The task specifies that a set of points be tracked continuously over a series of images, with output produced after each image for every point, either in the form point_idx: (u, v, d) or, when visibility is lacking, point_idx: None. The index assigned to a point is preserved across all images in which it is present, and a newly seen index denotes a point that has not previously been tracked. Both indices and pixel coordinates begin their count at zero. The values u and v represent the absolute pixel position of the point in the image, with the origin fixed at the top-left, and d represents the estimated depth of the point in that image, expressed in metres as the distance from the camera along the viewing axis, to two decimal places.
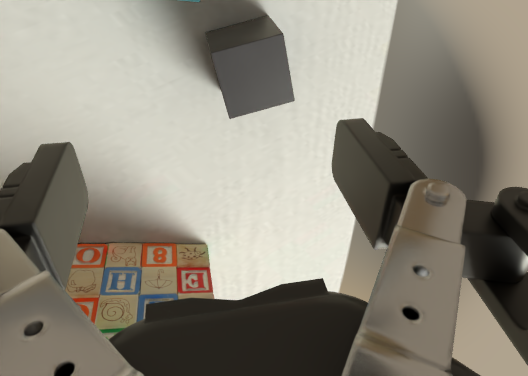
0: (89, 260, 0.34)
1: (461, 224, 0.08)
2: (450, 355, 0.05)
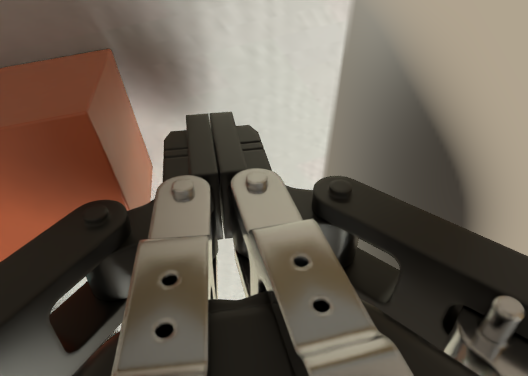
0: None
1: (261, 210, 0.08)
2: (371, 321, 0.06)
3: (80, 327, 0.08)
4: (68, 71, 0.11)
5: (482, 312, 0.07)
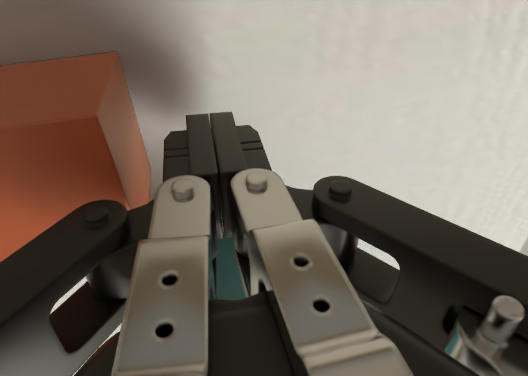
0: None
1: (261, 210, 0.08)
2: (370, 321, 0.06)
3: (80, 327, 0.08)
4: (75, 73, 0.11)
5: (482, 312, 0.07)
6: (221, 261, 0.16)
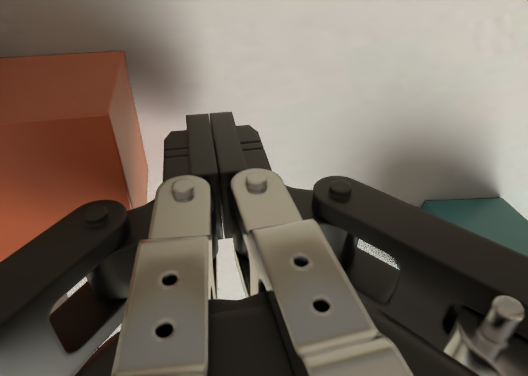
0: None
1: (261, 210, 0.08)
2: (370, 321, 0.06)
3: (81, 327, 0.08)
4: (83, 70, 0.11)
5: (482, 312, 0.07)
6: (461, 222, 0.18)
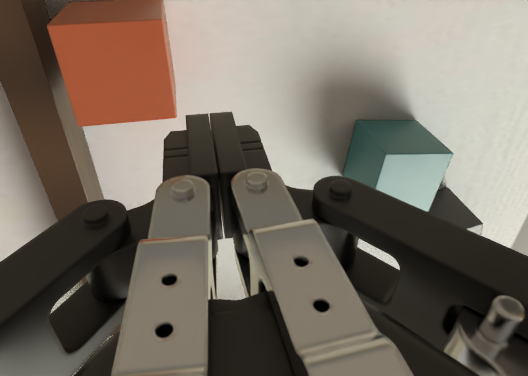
0: None
1: (261, 210, 0.08)
2: (371, 321, 0.06)
3: (80, 327, 0.08)
4: (141, 5, 0.19)
5: (482, 312, 0.07)
6: (379, 131, 0.25)
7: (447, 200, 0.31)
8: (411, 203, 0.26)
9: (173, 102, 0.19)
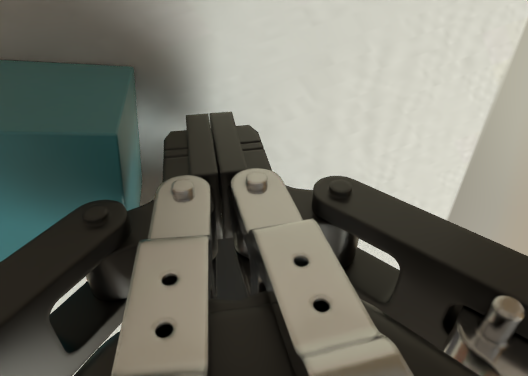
0: None
1: (261, 210, 0.08)
2: (371, 321, 0.06)
3: (81, 327, 0.08)
4: None
5: (482, 312, 0.07)
6: None
7: None
8: None
9: None
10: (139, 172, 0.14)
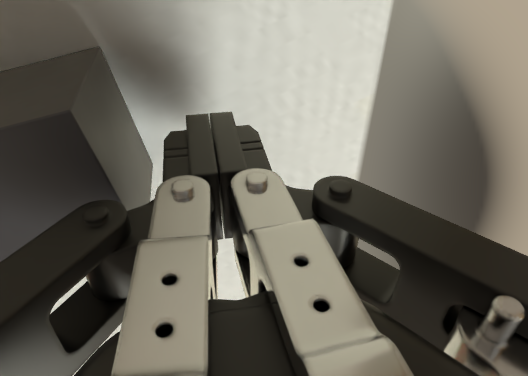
0: None
1: (261, 210, 0.08)
2: (371, 321, 0.06)
3: (81, 327, 0.08)
4: None
5: (482, 312, 0.07)
6: None
7: (62, 68, 0.11)
8: None
9: None
10: None
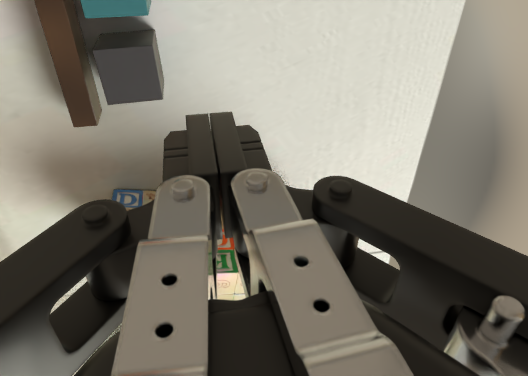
0: None
1: (261, 210, 0.08)
2: (371, 321, 0.06)
3: (80, 327, 0.08)
4: None
5: (482, 312, 0.07)
6: None
7: (143, 34, 0.33)
8: (124, 4, 0.29)
9: None
10: None
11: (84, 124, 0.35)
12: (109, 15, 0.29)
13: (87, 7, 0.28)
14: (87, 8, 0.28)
